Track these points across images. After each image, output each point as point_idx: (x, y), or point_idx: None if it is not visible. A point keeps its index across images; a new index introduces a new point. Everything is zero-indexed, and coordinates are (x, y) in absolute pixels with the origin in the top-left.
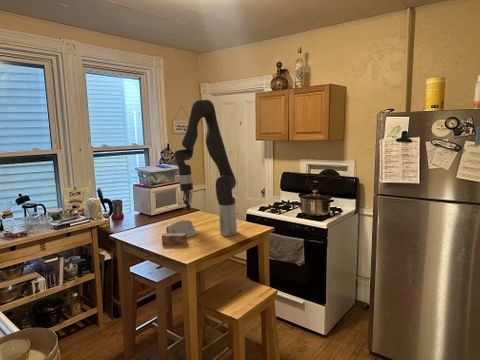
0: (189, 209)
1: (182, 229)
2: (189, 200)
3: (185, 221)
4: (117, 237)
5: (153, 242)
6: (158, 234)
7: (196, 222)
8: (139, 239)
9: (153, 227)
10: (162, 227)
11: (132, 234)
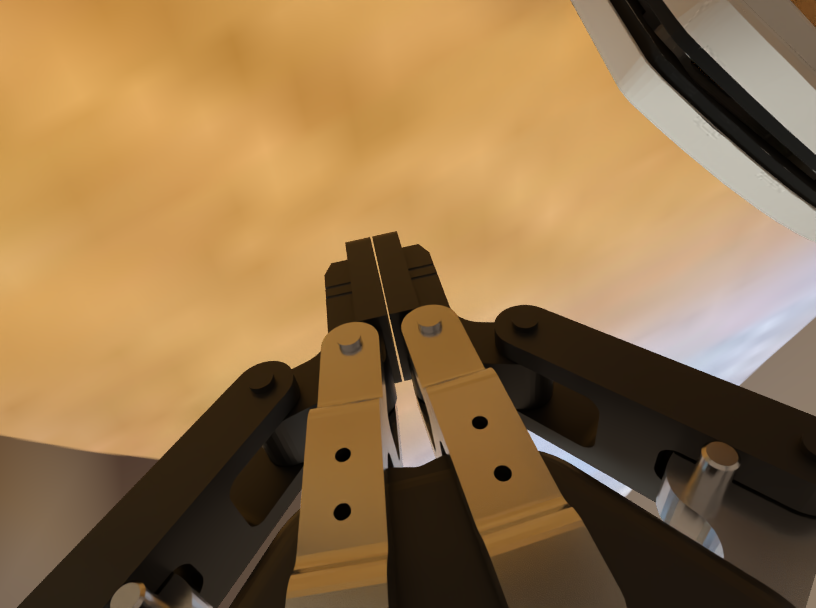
0: (408, 252)
1: (797, 61)
2: (497, 383)
3: (797, 71)
4: (628, 490)
5: (801, 250)
6: (600, 323)
7: (118, 159)
8: None
9: (418, 447)
10: (409, 395)
11: (580, 463)
